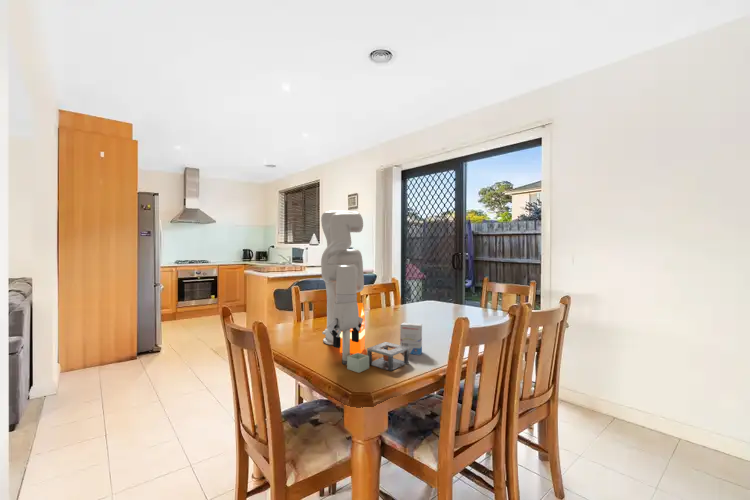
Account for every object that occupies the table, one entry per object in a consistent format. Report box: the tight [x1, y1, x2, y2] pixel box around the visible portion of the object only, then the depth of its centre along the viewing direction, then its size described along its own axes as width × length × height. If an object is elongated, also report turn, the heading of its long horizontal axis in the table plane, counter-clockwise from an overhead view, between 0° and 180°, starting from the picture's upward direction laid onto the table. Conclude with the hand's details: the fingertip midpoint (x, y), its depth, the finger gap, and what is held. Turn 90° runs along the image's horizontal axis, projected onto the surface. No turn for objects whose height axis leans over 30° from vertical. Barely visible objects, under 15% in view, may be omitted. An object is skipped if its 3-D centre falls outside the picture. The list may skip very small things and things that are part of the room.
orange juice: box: [339, 302, 366, 355], centre depth 147 cm, size 8×9×20 cm
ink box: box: [399, 322, 423, 356], centre depth 146 cm, size 9×5×12 cm, turn 74°
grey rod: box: [341, 329, 351, 366], centre depth 132 cm, size 3×3×16 cm
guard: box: [366, 341, 410, 372], centre depth 132 cm, size 11×11×6 cm
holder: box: [346, 353, 370, 374], centre depth 127 cm, size 6×6×4 cm
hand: (346, 344), depth 131 cm, fingers open, 9 cm apart
